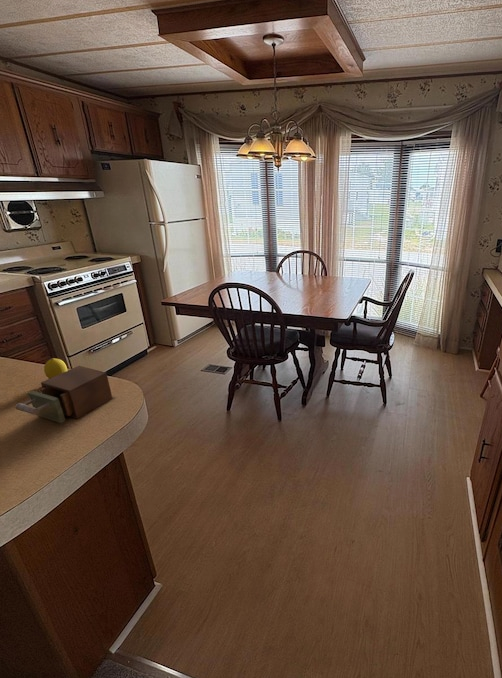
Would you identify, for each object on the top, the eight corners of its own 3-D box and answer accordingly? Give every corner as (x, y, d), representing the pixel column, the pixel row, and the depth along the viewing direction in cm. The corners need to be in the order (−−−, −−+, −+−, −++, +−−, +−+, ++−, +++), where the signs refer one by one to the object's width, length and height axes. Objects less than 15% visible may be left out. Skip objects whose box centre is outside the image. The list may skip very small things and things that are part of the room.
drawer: (43, 433, 83) (35, 409, 81) (17, 424, 86) (9, 401, 83) (95, 403, 95) (89, 382, 93) (71, 396, 98) (65, 376, 95)
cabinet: (77, 418, 90) (69, 390, 87) (49, 409, 93) (40, 382, 90) (112, 398, 100) (106, 372, 96) (86, 390, 103) (79, 365, 99)
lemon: (68, 375, 111) (61, 352, 108) (71, 381, 107) (65, 358, 104) (46, 380, 107) (39, 357, 104) (49, 387, 104) (42, 364, 101)
